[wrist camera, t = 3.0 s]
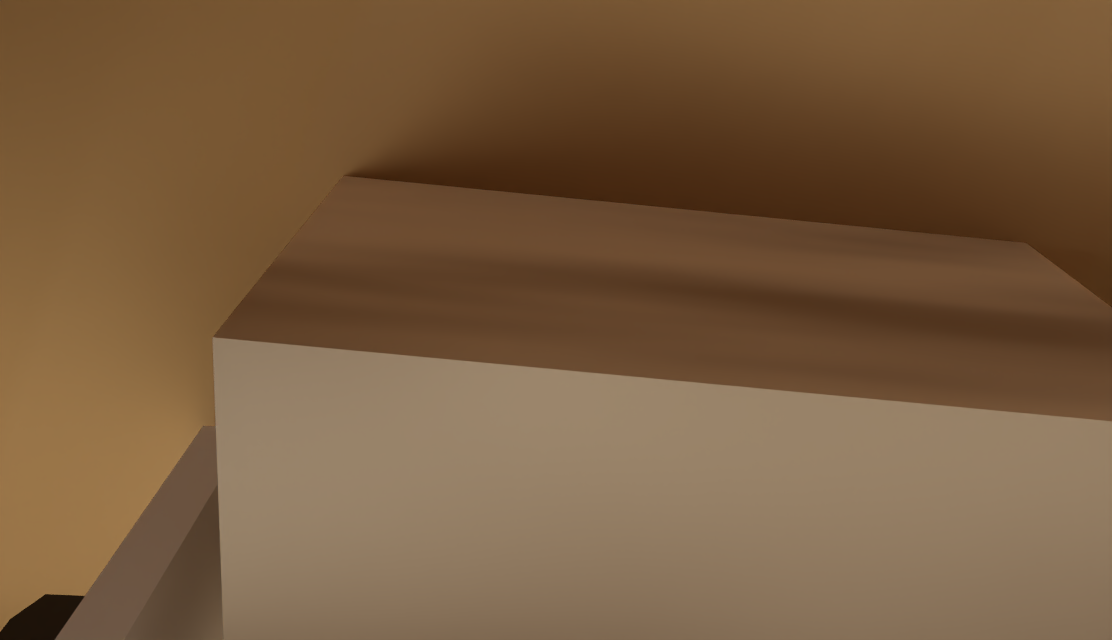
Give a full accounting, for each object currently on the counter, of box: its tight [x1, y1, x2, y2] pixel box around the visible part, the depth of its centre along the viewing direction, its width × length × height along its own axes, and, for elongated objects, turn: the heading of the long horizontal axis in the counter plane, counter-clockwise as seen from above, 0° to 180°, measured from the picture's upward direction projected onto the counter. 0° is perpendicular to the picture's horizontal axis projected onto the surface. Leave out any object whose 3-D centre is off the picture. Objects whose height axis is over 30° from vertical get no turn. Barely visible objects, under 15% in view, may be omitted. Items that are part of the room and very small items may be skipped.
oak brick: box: [213, 176, 1112, 640], centre depth 14 cm, size 10×10×6 cm
